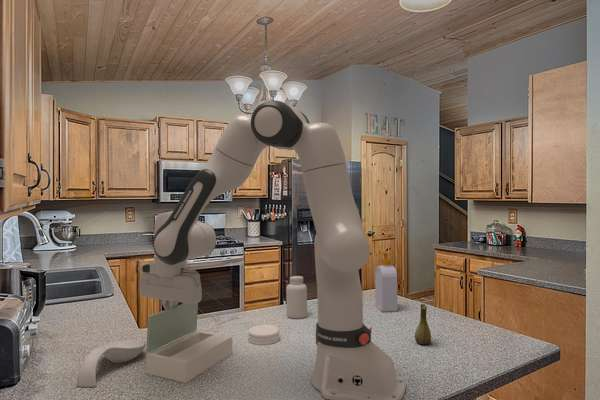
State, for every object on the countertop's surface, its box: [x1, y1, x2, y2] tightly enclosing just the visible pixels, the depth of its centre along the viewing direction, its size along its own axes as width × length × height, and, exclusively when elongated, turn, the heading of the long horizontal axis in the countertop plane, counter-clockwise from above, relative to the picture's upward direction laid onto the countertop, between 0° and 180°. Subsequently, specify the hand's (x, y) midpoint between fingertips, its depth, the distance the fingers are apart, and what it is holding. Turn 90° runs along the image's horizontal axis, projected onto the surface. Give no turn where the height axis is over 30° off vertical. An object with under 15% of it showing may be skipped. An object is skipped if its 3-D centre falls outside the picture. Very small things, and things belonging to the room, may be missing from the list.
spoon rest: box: [76, 339, 147, 388], centre depth 106 cm, size 24×12×7 cm, turn 177°
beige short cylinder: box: [247, 324, 281, 346], centre depth 126 cm, size 10×10×4 cm
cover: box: [145, 302, 199, 354], centre depth 110 cm, size 10×19×1 cm
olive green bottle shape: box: [414, 303, 432, 345], centre depth 122 cm, size 6×5×12 cm
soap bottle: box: [374, 252, 398, 313], centre depth 160 cm, size 9×7×23 cm
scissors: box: [205, 314, 239, 333], centre depth 142 cm, size 11×1×20 cm
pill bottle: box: [285, 275, 308, 320], centre depth 151 cm, size 8×8×15 cm
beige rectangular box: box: [145, 330, 233, 384], centre depth 108 cm, size 13×20×5 cm, turn 155°
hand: (170, 315), depth 111 cm, fingers closed
